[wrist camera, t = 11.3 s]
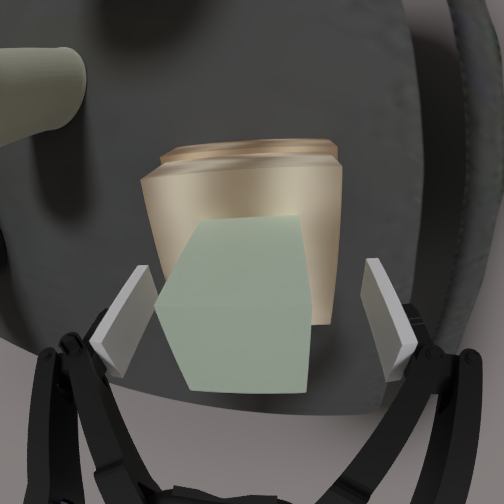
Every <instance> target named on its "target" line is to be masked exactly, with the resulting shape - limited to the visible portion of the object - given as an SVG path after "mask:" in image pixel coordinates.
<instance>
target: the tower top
mask: <svg viewBox="0 0 504 504" xmlns="http://www.w3.org/2000/svg"><path fill="white" fill-rule="evenodd" d="M141 185H142V190H143V194H144V199H145V203H146V208H147V212H148V216H149V221H150V225H151V229H152V233H153V237H154V241H155V244H156V248H157V252H158V256H159V259H160V263H161V266H162V270H163V273H164V277H165V280H166V281H167V279H168V277H169V276H170V274H171V272H172V270H173V268H174V266H175V264H176V263H177V261H178V259H179V257H180V255H181V253H182V252H183V250H184V248H185V246H186V244H187V243H188V241H189V239H190V237H191V235H192V234H193V232H194V230H195V228H196V227H197V225H198V223H199V221H200V220H214V219H229V218H246V217H264V216H284V215H299V220H300V226H301V232H302V238H303V244H304V250H305V257H306V263H307V270H308V277H309V284H310V291H311V299H312V318H311V325H322V324H330V323H331V316H332V308H333V299H334V291H335V281H336V271H337V260H338V248H339V235H340V218H341V197H342V166H341V164H340V163H339V162H338V161H337V160H336V159H335V158H334V157H333V156H332V155H331V154H330V152H280V153H259V154H243V155H230V156H218V157H208V158H198V159H190V160H181V161H174V162H166V163H164V164H163V165H161V166H160V167H158V168H157V169H155V170H154V171H152V172H151V173H149V174H148V175H147V176H145V177H144V178H142V179H141Z"/></svg>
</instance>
